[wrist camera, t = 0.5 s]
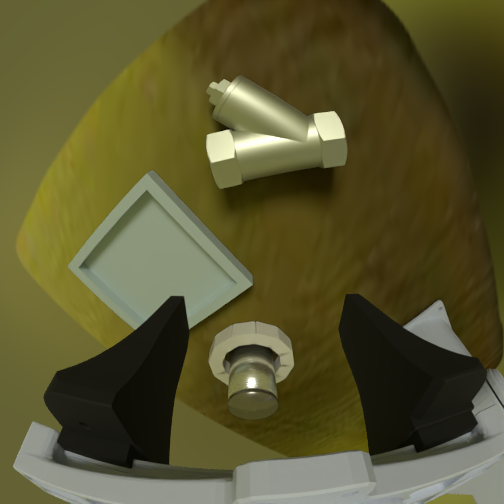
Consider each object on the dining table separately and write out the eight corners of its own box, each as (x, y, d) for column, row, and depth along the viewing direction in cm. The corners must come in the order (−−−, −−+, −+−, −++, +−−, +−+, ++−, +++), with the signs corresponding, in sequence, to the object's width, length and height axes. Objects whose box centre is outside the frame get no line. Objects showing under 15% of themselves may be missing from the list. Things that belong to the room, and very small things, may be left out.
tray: (252, 275, 23) (252, 284, 22) (162, 339, 26) (159, 349, 24) (153, 169, 19) (146, 173, 18) (75, 259, 22) (67, 266, 21)
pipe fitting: (201, 92, 17) (222, 183, 20) (189, 80, 14) (215, 192, 16) (314, 71, 17) (333, 161, 19) (328, 56, 13) (352, 165, 16)
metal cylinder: (280, 353, 27) (288, 407, 21) (248, 371, 28) (249, 424, 22) (254, 330, 25) (256, 386, 19) (221, 350, 26) (217, 405, 20)
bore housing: (306, 354, 27) (309, 365, 25) (246, 386, 29) (246, 397, 27) (257, 307, 24) (258, 319, 23) (194, 348, 26) (192, 360, 25)
